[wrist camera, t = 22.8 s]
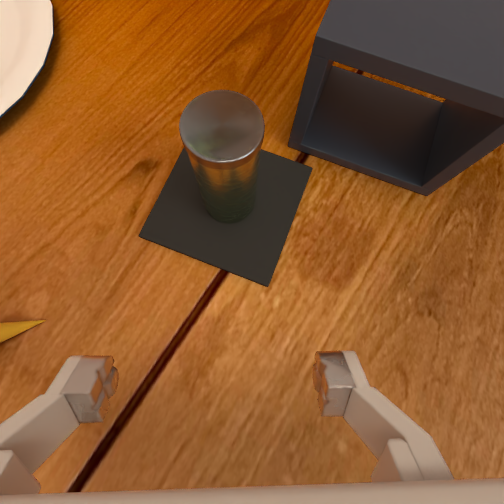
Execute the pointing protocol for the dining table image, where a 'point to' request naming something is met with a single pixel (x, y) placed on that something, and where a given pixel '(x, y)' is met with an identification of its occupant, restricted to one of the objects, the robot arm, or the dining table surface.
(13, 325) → the ice cream cone
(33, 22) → the plate
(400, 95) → the shelf
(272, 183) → the mat
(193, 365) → the dining table surface
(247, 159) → the tin
